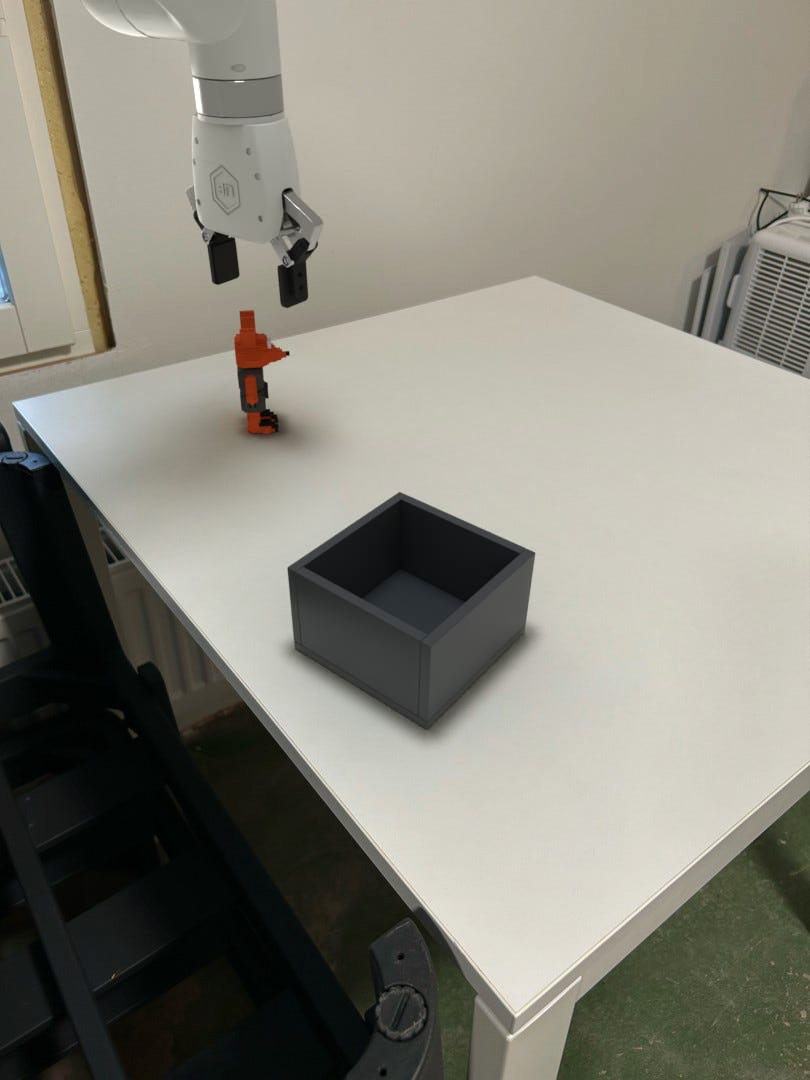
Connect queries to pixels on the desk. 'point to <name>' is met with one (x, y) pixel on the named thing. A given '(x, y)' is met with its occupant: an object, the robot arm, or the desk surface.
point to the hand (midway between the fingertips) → (259, 291)
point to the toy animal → (255, 373)
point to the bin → (410, 604)
